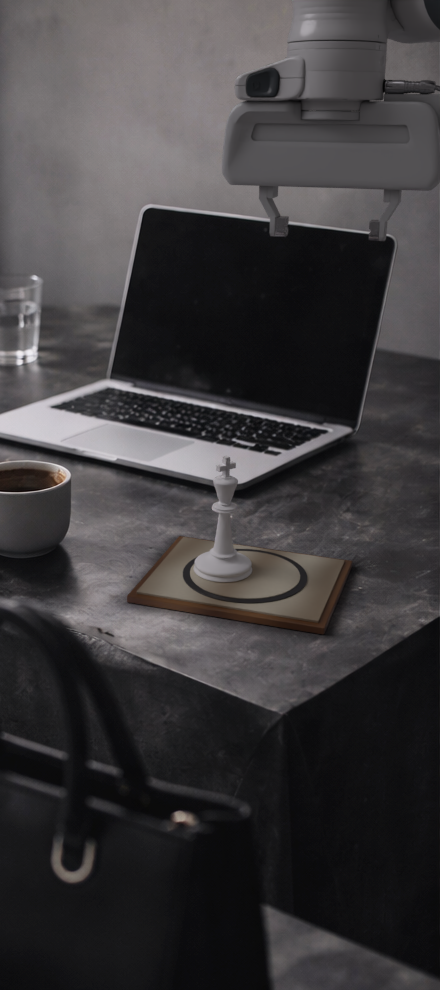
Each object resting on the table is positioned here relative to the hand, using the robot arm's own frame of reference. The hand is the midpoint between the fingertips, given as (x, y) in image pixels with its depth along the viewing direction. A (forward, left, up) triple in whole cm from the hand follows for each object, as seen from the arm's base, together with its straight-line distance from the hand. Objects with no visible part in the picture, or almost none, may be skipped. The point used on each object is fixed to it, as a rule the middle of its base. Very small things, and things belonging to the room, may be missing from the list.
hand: (327, 238), depth 93 cm
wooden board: (+1, +23, -26) cm, 35 cm away
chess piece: (+3, +23, -25) cm, 34 cm away
